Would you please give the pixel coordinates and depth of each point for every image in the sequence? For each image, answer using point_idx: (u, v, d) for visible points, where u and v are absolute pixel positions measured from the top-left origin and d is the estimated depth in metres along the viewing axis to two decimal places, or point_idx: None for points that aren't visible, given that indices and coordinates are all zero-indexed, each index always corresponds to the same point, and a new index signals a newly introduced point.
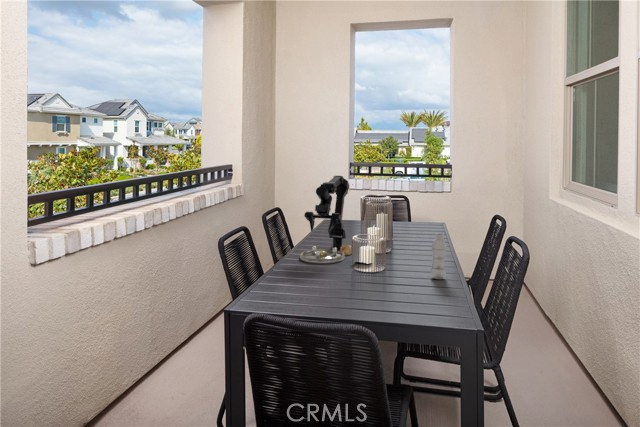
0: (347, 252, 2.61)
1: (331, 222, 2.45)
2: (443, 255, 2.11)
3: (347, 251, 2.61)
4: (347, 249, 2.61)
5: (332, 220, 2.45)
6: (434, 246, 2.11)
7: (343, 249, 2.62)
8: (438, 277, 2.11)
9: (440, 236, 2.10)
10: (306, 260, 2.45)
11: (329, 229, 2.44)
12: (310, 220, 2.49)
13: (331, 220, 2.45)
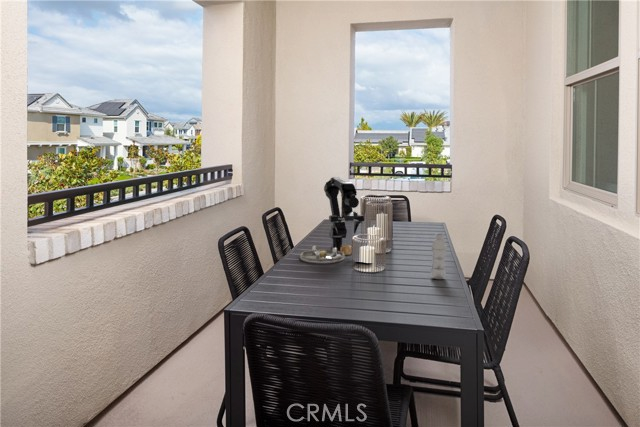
0: (347, 252, 2.61)
1: (357, 225, 2.62)
2: (443, 255, 2.11)
3: (347, 251, 2.61)
4: (347, 249, 2.61)
5: (358, 223, 2.61)
6: (434, 246, 2.11)
7: (343, 249, 2.62)
8: (438, 277, 2.11)
9: (440, 236, 2.10)
10: (306, 260, 2.45)
11: (355, 231, 2.63)
12: (336, 225, 2.59)
13: (357, 223, 2.61)
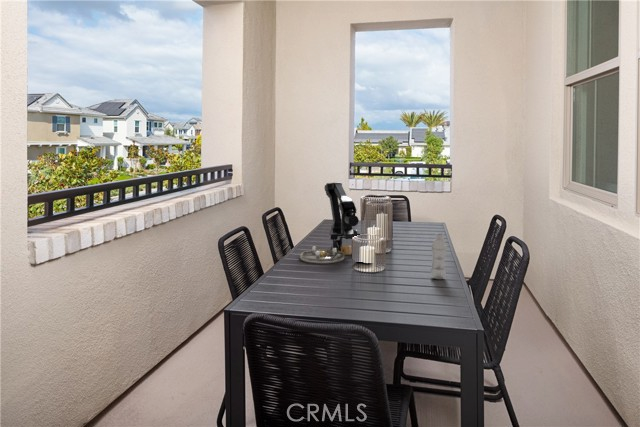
0: (347, 252, 2.61)
1: None
2: (443, 255, 2.11)
3: (347, 251, 2.61)
4: (347, 249, 2.61)
5: None
6: (434, 246, 2.11)
7: (343, 249, 2.62)
8: (438, 277, 2.11)
9: (440, 236, 2.10)
10: (306, 260, 2.45)
11: None
12: (338, 242, 2.61)
13: None
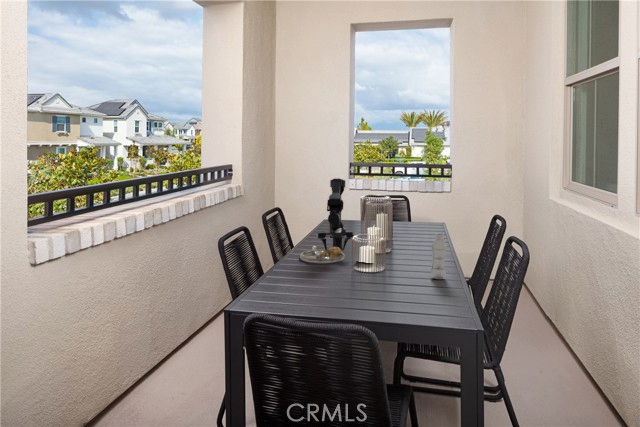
0: (335, 254, 2.51)
1: (345, 241, 2.52)
2: (443, 255, 2.11)
3: (335, 253, 2.51)
4: (335, 251, 2.51)
5: (347, 240, 2.52)
6: (434, 246, 2.11)
7: (331, 251, 2.51)
8: (438, 277, 2.11)
9: (440, 236, 2.10)
10: (306, 260, 2.45)
11: None
12: (324, 241, 2.50)
13: (346, 240, 2.52)
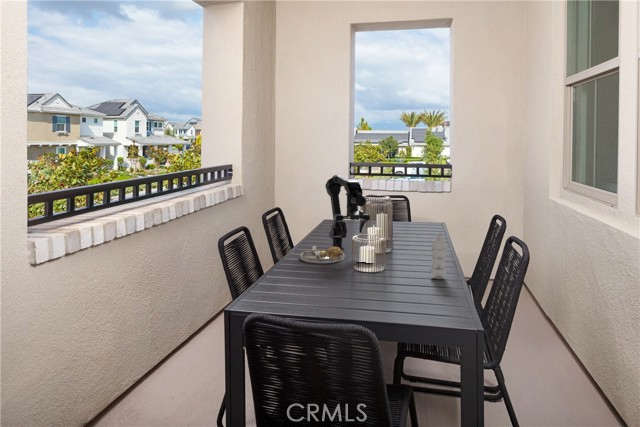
0: (335, 254, 2.51)
1: (362, 224, 2.58)
2: (443, 255, 2.11)
3: (335, 253, 2.51)
4: (335, 251, 2.51)
5: (364, 222, 2.57)
6: (434, 246, 2.11)
7: (331, 251, 2.51)
8: (438, 277, 2.11)
9: (440, 236, 2.10)
10: (306, 260, 2.45)
11: (361, 230, 2.59)
12: (342, 224, 2.56)
13: (363, 222, 2.57)
